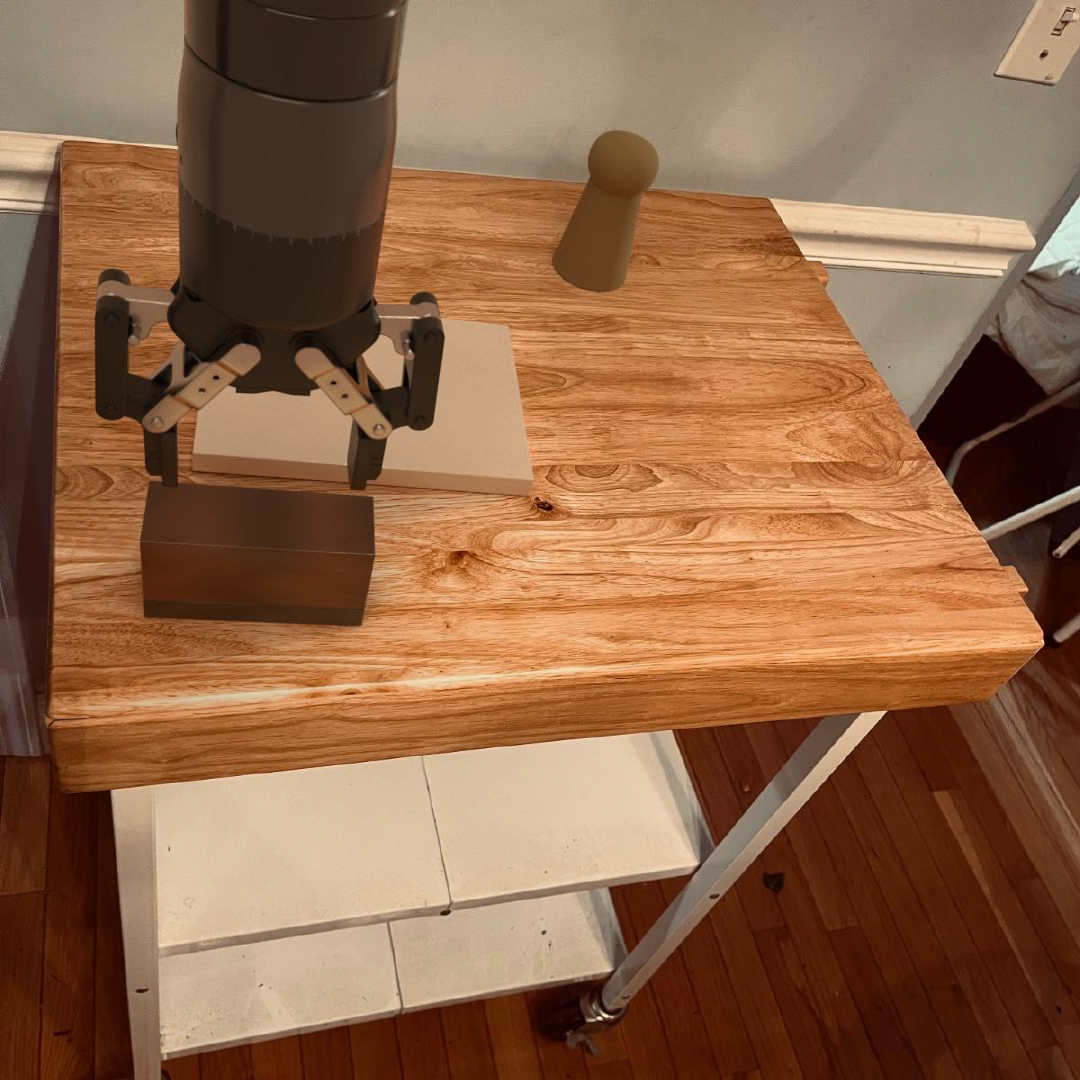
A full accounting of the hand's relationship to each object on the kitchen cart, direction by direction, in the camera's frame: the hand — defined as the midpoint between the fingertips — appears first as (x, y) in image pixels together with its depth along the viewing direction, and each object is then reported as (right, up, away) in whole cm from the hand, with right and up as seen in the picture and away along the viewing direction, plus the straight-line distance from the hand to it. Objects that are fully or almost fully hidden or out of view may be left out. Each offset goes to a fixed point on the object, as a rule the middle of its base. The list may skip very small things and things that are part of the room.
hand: (265, 476), depth 51 cm
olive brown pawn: (+17, +18, +34) cm, 42 cm away
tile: (+2, +6, +18) cm, 19 cm away
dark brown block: (-2, -6, +6) cm, 9 cm away
